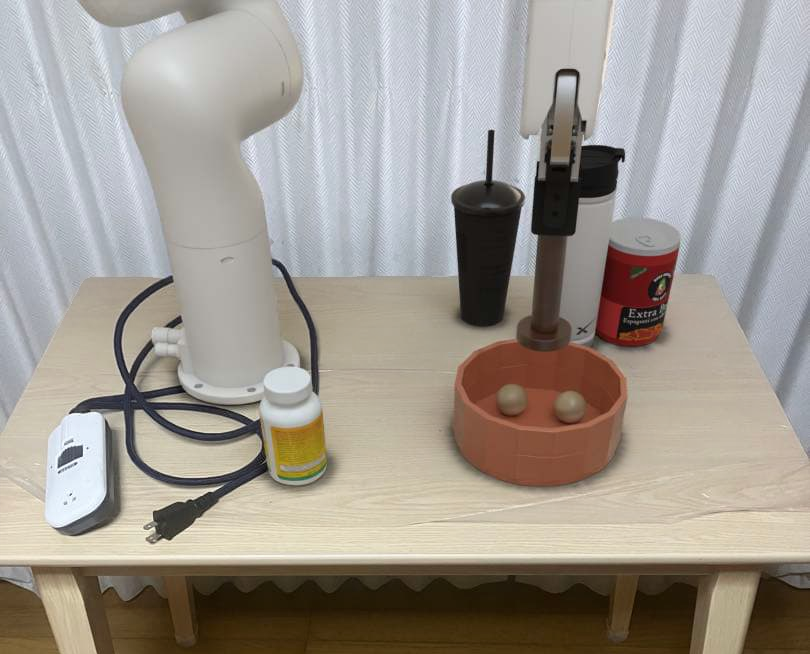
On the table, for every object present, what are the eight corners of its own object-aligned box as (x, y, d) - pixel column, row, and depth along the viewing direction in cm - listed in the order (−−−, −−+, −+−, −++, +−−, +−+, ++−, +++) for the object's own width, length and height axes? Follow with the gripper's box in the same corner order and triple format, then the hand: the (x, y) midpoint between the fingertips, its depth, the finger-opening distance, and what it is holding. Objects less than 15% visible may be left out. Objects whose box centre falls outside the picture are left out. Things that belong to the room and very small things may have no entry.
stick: (514, 350, 69) (527, 156, 59) (517, 323, 72) (530, 135, 62) (570, 353, 68) (592, 158, 58) (571, 326, 72) (592, 136, 61)
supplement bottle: (256, 469, 78) (241, 378, 72) (302, 443, 81) (291, 354, 75) (294, 496, 76) (281, 404, 69) (340, 468, 78) (332, 378, 72)
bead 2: (551, 428, 81) (555, 401, 79) (552, 409, 83) (556, 383, 81) (584, 430, 81) (588, 403, 79) (584, 412, 83) (588, 385, 81)
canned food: (621, 355, 91) (639, 256, 84) (575, 322, 97) (588, 226, 89) (677, 336, 94) (698, 238, 87) (629, 305, 99) (645, 210, 92)
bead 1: (493, 420, 82) (495, 394, 80) (496, 402, 84) (498, 376, 82) (525, 423, 82) (528, 396, 80) (527, 405, 84) (529, 378, 82)
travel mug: (595, 358, 91) (625, 163, 77) (533, 352, 92) (551, 159, 78) (597, 328, 96) (626, 139, 82) (538, 323, 97) (556, 136, 83)
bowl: (445, 478, 77) (446, 423, 73) (463, 385, 88) (465, 332, 84) (618, 493, 75) (629, 437, 71) (615, 396, 86) (624, 342, 82)
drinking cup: (508, 336, 95) (522, 147, 81) (441, 328, 96) (443, 140, 83) (521, 304, 100) (536, 121, 86) (457, 296, 102) (462, 115, 88)
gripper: (525, -96, 58) (510, 183, 70) (508, -53, 46) (493, 272, 59) (640, -97, 57) (604, 186, 69) (652, -53, 45) (606, 277, 58)
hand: (553, 223), depth 64 cm, fingers closed on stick, 2 cm apart
